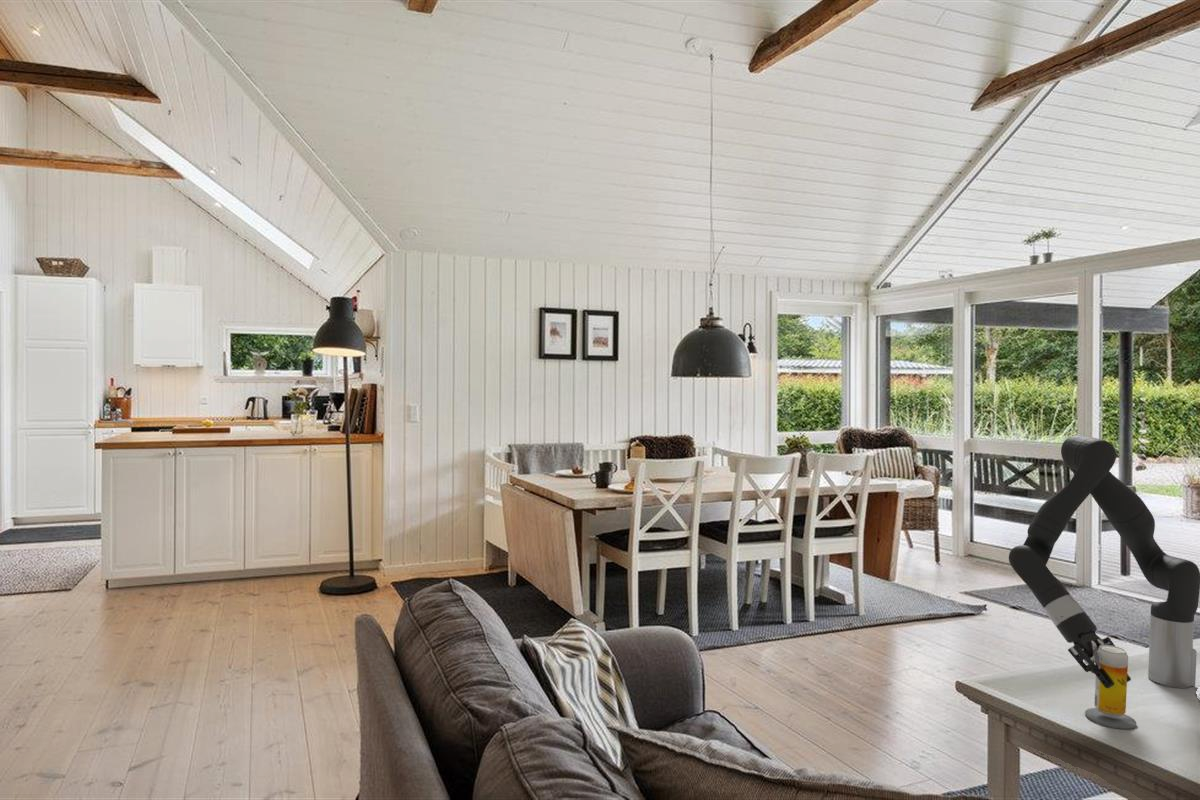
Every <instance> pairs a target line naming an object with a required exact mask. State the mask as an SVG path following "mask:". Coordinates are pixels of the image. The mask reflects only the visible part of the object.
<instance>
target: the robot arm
mask: <svg viewBox="0 0 1200 800" xmlns="http://www.w3.org/2000/svg"><path fill="white" fill-rule="evenodd" d="M1060 455H1061V458H1062V461H1063V462H1064V464H1065V465H1066V466H1067V467H1068V469H1069V470H1070V471H1071V472H1072V474H1073V476H1072V478H1071V479H1070V480H1069V481H1068V482H1067V484H1065V486H1063V487H1062V488H1061V489H1060V490H1059V491H1057V492H1055V494H1053V495H1052V496H1051V497H1050V498H1048V499H1047V500H1045V502H1044V503H1043V504H1042V505H1041V506H1040V508H1039V509H1038V511H1036V514H1035V515H1034V517H1033V519H1032V520H1031V522H1030V524H1029V525H1028V527H1027V537H1026V539H1025V541H1024V542H1023V545H1016V546H1014V547H1012V549H1011V550H1010V551H1009V554H1008V562H1009V564H1010V566H1011V568H1012V569H1013V570H1014V571H1015V573H1016V574H1017V575H1018V577H1019V578H1020V579H1021V580H1022V581H1023V582H1024V584H1025V585H1026V586H1027V587H1028V588H1029V589H1030V590H1031V592H1032V594H1033V595H1034V597H1035V598H1036V600H1037V601H1038V603H1040V606H1042V608H1043V609H1044V611H1045V613H1046V614H1047V616H1048V618H1049V619H1050V620H1051V622H1052V623H1053V625H1054V626H1055V628H1056V629H1057V630H1058V631H1059V633H1060V634H1061V636H1062V637H1063V638H1064V639H1065V640H1066V643H1069V644H1072V643H1073V645H1072V646H1071V647H1070V648H1068V650H1067V651H1068V652H1069V654H1070V655H1071V657H1073V658H1074V660H1075V661H1076V662H1077V663H1078V665H1080V667H1081V668H1082V669H1083V671H1085V672H1086V673H1089V672H1090V673H1091V674H1094V675H1095V677H1096V676H1097V677H1098V679H1099V680H1100V681H1101V683H1102V684H1103V685H1104V687H1105V688H1110V687H1111V686H1113V685H1114V682H1113V680H1112V679H1111V678H1110V676H1109V675H1108V674H1107V673H1106V671H1105V670H1104V669H1102V665H1101V664H1100V662H1099V656H1098V654H1097V650H1098V648H1099V646H1100V645H1111V646H1116V645H1115V644H1114V642H1113V641H1112V640H1111V638H1110V637H1109V636H1107V637H1105V638H1101V637H1100V636H1099V635H1098V634H1096V631H1097V629H1098V628H1097V625H1096V624H1095V623H1094V622H1093V620H1092V619H1091V617H1090V616H1089V615H1088V614H1087V612H1086V611H1085V610H1084V609H1083V607H1082V606H1081V605H1080V604H1079V602H1078V601H1077V600H1076V599H1075V598H1074V597H1073V596H1072V595H1071V594H1070V592H1069V591H1068V589H1067V588H1066V587H1065V585H1064V584H1063V583H1062V582H1061V581H1060V579H1058V577H1056V576H1055V575H1054V574H1053V573H1052V572H1051V570H1050V569H1049V568H1048V567H1047V564H1048V562H1049V560H1050V557H1051V555H1052V553H1053V550H1054V547H1055V544H1056V542H1057V541H1058V539H1059V538H1060V537H1061V536H1062V533H1063V532H1064V530H1065V528H1066V527H1067V525H1068V523H1069V521H1070V520H1071V518H1072V517H1073V515H1074V514H1075V513H1076V512H1077V510H1078V508H1079V507H1080V506H1081V504H1082V503H1084V501H1086V499H1087V498H1088V497H1089V496H1091V497H1092V498H1093V499H1094V502H1095V503H1096V504H1097V505H1098V506H1099V508H1100V510H1101V511H1102V512H1103V513H1104V516H1105V517H1106V519H1107V520H1108V521H1109V522H1110V525H1112V527H1113V528H1114V529H1115V531H1116V532H1117V533H1118V535H1119V536H1120V538H1121V539H1122V541H1123V542H1124V544H1125V545H1126V547H1127V548H1128V549H1129V551H1130V552H1131V554H1132V556H1133V558H1134V560H1135V561H1136V563H1137V565H1138V568H1139V569H1140V570H1141V572H1142V575H1143V576H1144V577H1145V580H1146V581H1147V582H1148V583H1149V584H1151V585H1152V586H1153V587H1155V588H1157V589H1160V590H1164V591H1167V598H1166V600H1165V601H1157V602H1153V603H1151V605H1150V621H1149V622H1150V623H1149V645H1148V646H1149V647H1148V648H1149V649H1148V667H1147V669H1148V670H1147V672H1148V673H1147V678H1148V677H1149V678H1150V679H1151V680H1150V679H1149V678H1148V679H1149V680H1150V681H1152V680H1153V681H1152V682H1154V681H1155V682H1154V683H1156V682H1157V683H1156V684H1159V683H1160V685H1162V686H1166V687H1171V688H1176V689H1177V688H1179V689H1180V688H1181V689H1186V688H1191V687H1196V677H1197V675H1196V674H1197V656H1198V655H1197V650H1196V649H1194V625H1195V615H1196V612H1197V611H1198V608H1199V602H1200V601H1199V600H1200V568H1199V567H1198V564H1196V563H1195V562H1193V561H1191V560H1188V559H1185V558H1181V557H1176V556H1172V555H1169V554H1167V553H1165V552H1164V550H1163V549H1162V548H1161V547H1160V546H1159V544H1158V543H1157V541H1156V540H1155V537H1154V535H1155V534H1154V533H1155V529H1156V522H1155V517H1154V516H1153V514H1152V511H1150V510H1149V508H1148V506H1147V505H1146V504H1145V502H1144V501H1143V499H1142V498H1141V497H1140V496H1139V495H1138V494H1137V493H1136V492H1135V491H1134V490H1132V488H1130V487H1129V486H1128V485H1127V484H1125V482H1123V481H1121V480H1120V479H1119V478H1117V477H1116V476H1115V475H1114V474H1113V473H1112V472H1111V469H1112V468H1113V466H1114V465H1115V463H1116V459H1117V451H1116V448H1115V447H1114V445H1113V443H1111V442H1110V441H1107V440H1104V439H1101V438H1097V437H1093V436H1087V435H1082V434H1081V435H1077V434H1076V435H1072V436H1069V437H1067V438H1065V440H1064V441H1063V442H1062V445H1061V449H1060ZM1130 681H1132V678H1131V676H1129V674H1128V673H1127V683H1128V682H1130Z"/></svg>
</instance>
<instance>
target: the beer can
mask: <svg viewBox="0 0 1200 800" xmlns="http://www.w3.org/2000/svg"><path fill="white" fill-rule="evenodd" d="M1097 654H1098V656H1099V662H1100V664H1101V665H1102V669H1104V670H1105V671H1106V673H1107V674H1108V675H1109V676H1110V678H1111V679H1112V680H1113V682H1114V685H1113V686H1111V687H1110V688H1105V687H1104V685H1103V684H1102V683H1101V681H1100V680H1099V679H1098V677H1097V676H1096V675H1095V685H1094V687H1095V688H1094V708H1097V710H1098V711H1099V712H1100V713H1102V714H1105V715H1108V716H1113V717H1121V716H1122V715H1123V714H1125V715H1126V714H1127V713H1126V712H1127V710H1126V709H1127V694H1128V693H1127V690H1128V689H1127V688H1128V682H1127V674H1128V672H1129V671H1128V669H1129V667H1128V666H1129V656H1128V653H1127V650H1126V649H1124V648H1123V647H1119V646H1116V645H1115V646H1111V645H1100V646H1099V648H1098V650H1097Z"/></svg>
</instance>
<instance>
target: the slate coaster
mask: <svg viewBox="0 0 1200 800" xmlns="http://www.w3.org/2000/svg"><path fill="white" fill-rule="evenodd" d="M1084 716H1085V717H1086V719H1088V720H1089V721H1091V722H1093V723H1095V724H1097V725H1100V726H1103V727H1107V728H1109V727H1110V729H1115V730H1121V731H1122V730H1124V731H1126V730H1128V731H1129V730H1134V729H1135V728H1136V727H1137V721H1136V719H1134V718H1133V717H1131V716H1130V715H1128V714H1126V713H1125V714H1123V715H1122V716H1121V717H1113V716H1108V715H1105V714H1102V713H1100V712H1099V711H1098V710H1097V708H1096V707H1091V708H1090V707H1089V708H1087V709H1086V710H1084Z"/></svg>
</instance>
